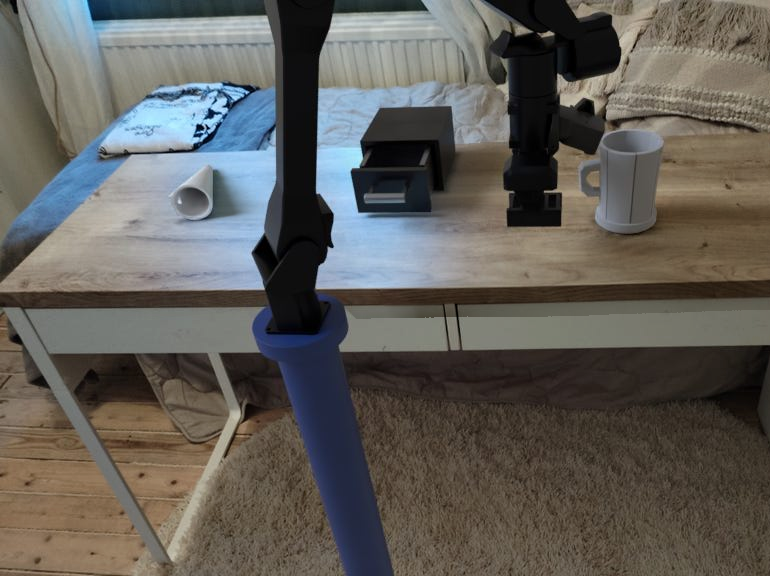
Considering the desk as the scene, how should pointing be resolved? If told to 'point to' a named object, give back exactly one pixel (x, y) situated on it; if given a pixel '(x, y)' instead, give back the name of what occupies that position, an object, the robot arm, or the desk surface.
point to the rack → (547, 216)
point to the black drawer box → (416, 133)
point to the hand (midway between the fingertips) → (534, 210)
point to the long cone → (194, 195)
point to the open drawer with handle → (395, 179)
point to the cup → (625, 180)
